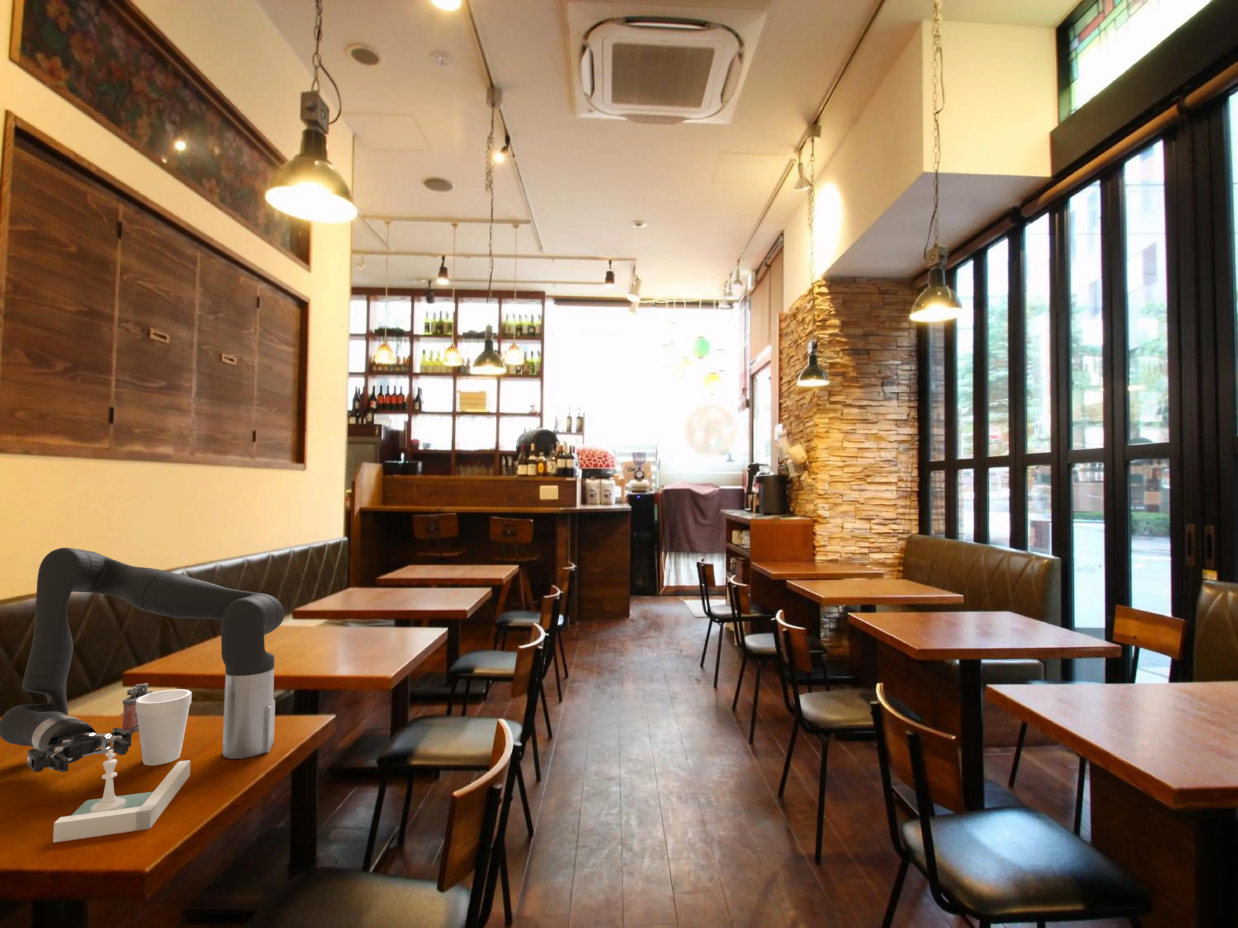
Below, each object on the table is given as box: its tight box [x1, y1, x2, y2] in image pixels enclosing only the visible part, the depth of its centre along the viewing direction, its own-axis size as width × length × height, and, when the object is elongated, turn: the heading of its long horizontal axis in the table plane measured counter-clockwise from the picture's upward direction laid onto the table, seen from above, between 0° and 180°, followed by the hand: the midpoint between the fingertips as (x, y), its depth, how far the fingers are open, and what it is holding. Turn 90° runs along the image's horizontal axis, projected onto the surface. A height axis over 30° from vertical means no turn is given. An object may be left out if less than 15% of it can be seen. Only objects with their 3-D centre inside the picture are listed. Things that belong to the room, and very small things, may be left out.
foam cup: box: [136, 688, 192, 766], centre depth 132 cm, size 10×9×13 cm
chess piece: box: [90, 750, 126, 813], centre depth 110 cm, size 5×5×10 cm
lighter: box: [122, 682, 154, 734], centre depth 150 cm, size 8×3×10 cm, turn 5°
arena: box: [52, 759, 191, 843], centre depth 112 cm, size 14×21×3 cm, turn 19°
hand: (96, 757), depth 113 cm, fingers open, 8 cm apart
